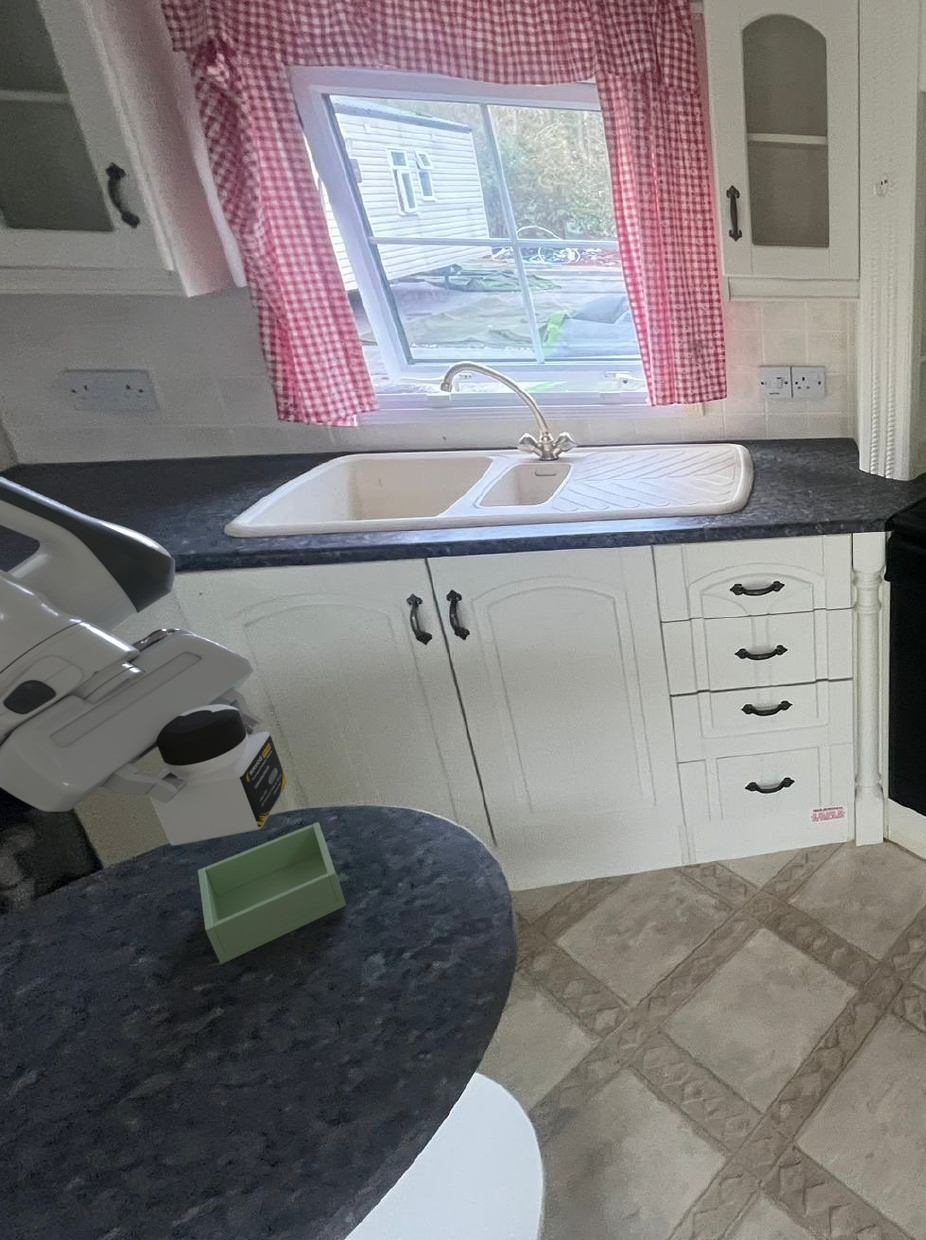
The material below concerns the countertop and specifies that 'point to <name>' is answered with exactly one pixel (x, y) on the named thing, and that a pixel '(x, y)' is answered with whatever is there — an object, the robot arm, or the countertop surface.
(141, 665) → the robot arm
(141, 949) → the countertop surface
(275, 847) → the tub
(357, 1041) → the countertop surface
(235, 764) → the medicine bottle
